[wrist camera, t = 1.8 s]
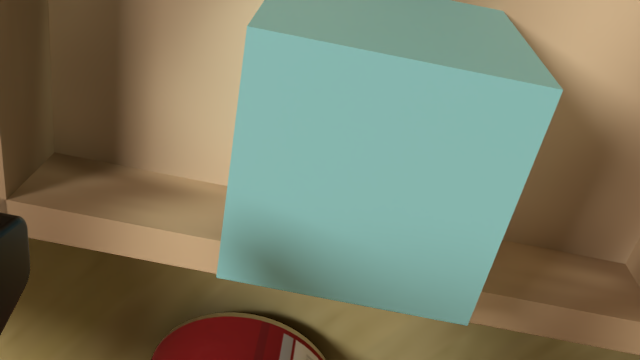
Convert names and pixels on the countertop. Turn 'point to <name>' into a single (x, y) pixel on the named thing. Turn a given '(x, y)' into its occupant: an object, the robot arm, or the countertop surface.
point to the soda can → (235, 340)
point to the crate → (218, 130)
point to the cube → (381, 151)
